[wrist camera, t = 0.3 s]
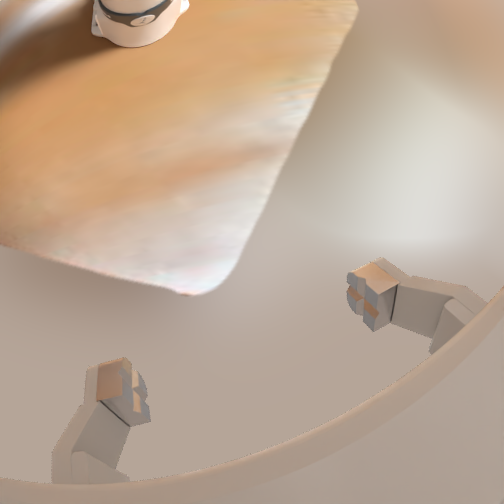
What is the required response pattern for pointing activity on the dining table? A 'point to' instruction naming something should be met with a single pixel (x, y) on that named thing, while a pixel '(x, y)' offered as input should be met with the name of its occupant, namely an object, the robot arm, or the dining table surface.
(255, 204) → the dining table surface
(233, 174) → the dining table surface
